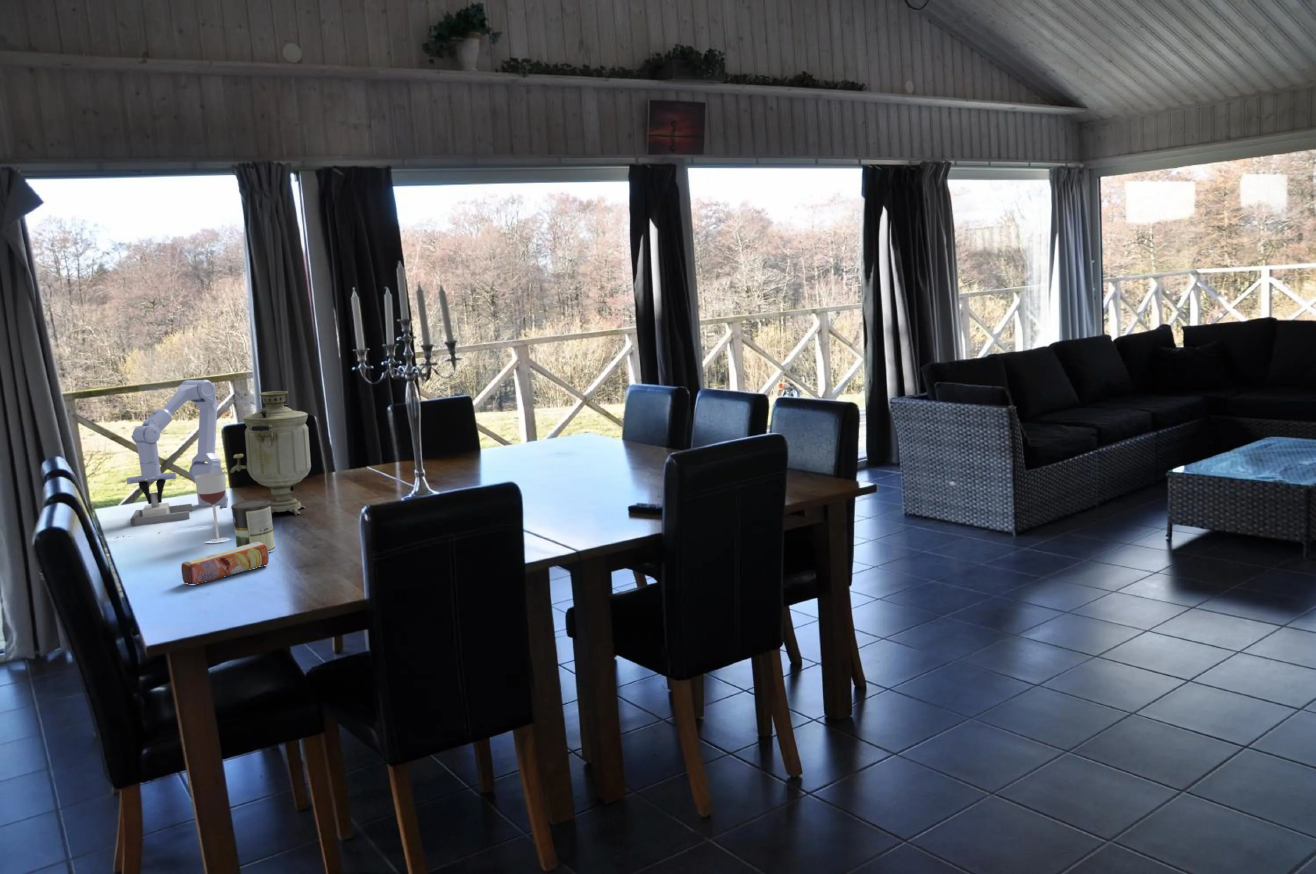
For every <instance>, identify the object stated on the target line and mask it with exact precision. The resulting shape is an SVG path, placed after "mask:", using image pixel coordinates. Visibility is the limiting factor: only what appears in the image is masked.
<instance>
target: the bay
mask: <svg viewBox="0 0 1316 874" xmlns="http://www.w3.org/2000/svg"><path fill="white" fill-rule="evenodd" d="M143 509H144V508H142V509H137V510H136V509H135V511H134V512H133V514H132V516H131V517H130V523H131V524H130V525H131V527H135V526H143V525H150V524H151V525H152V524H160V523H166V522H167V523H168V522H177V521H183V520H190V519H191V516H190V512H193V510H194V509H193V503H186V504H178V505H177V504H176V505H169V509H170V514H161V515H153V516H145V517H143V513H142V510H143Z"/></svg>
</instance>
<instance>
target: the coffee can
mask: <svg viewBox="0 0 1316 874" xmlns="http://www.w3.org/2000/svg"><path fill="white" fill-rule="evenodd" d="M270 503H271V500H268V499H252V500H250V499H249V500H244V501H240V502H236V503H234V504H231V506H230V508H231V512H232V513H231V514H232V520H233V529H234V535H235V536H234V537H235V544H236V548H237V547H240V546H244V545H248V544H251V543H254V542H260V543H263V544H264V545H265V546H266V547H267V549H268V551H271V550H273V549H275V550H276V544H275V536H274V527H273V518H272V514H271V508H270Z"/></svg>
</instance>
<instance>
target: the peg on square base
mask: <svg viewBox="0 0 1316 874" xmlns="http://www.w3.org/2000/svg"><path fill="white" fill-rule="evenodd" d="M150 500H151V504H146V505H144V507H143V508H142V509H143V510H142V509H141V510H142V513H143V517H145V516H153V515H161V514H170V509H169V506H170V503H169V502H164V503H162V502H161V503H159V501H158V491H157V492H155V491H154V492H150Z"/></svg>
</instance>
